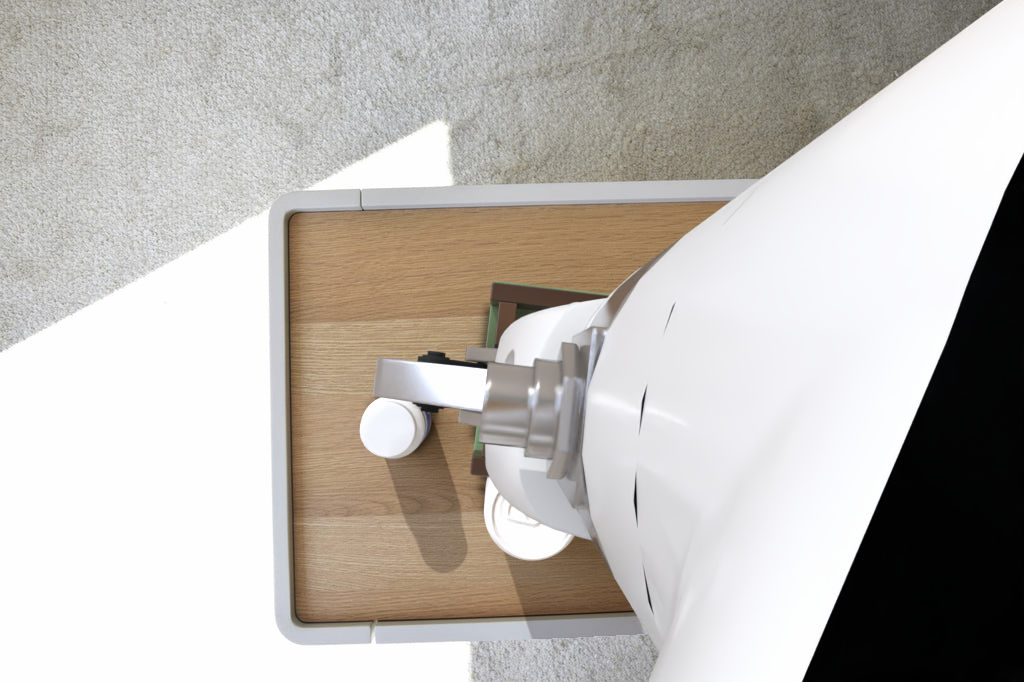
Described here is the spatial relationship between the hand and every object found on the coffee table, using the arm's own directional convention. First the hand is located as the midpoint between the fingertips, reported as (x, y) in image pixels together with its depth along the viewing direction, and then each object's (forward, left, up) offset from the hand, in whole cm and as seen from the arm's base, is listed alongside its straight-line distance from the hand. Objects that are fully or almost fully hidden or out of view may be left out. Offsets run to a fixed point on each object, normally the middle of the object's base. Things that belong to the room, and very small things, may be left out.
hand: (609, 398), depth 28 cm
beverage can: (-11, +1, -38) cm, 39 cm away
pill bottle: (-5, +13, -38) cm, 40 cm away
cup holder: (0, 0, -12) cm, 12 cm away
